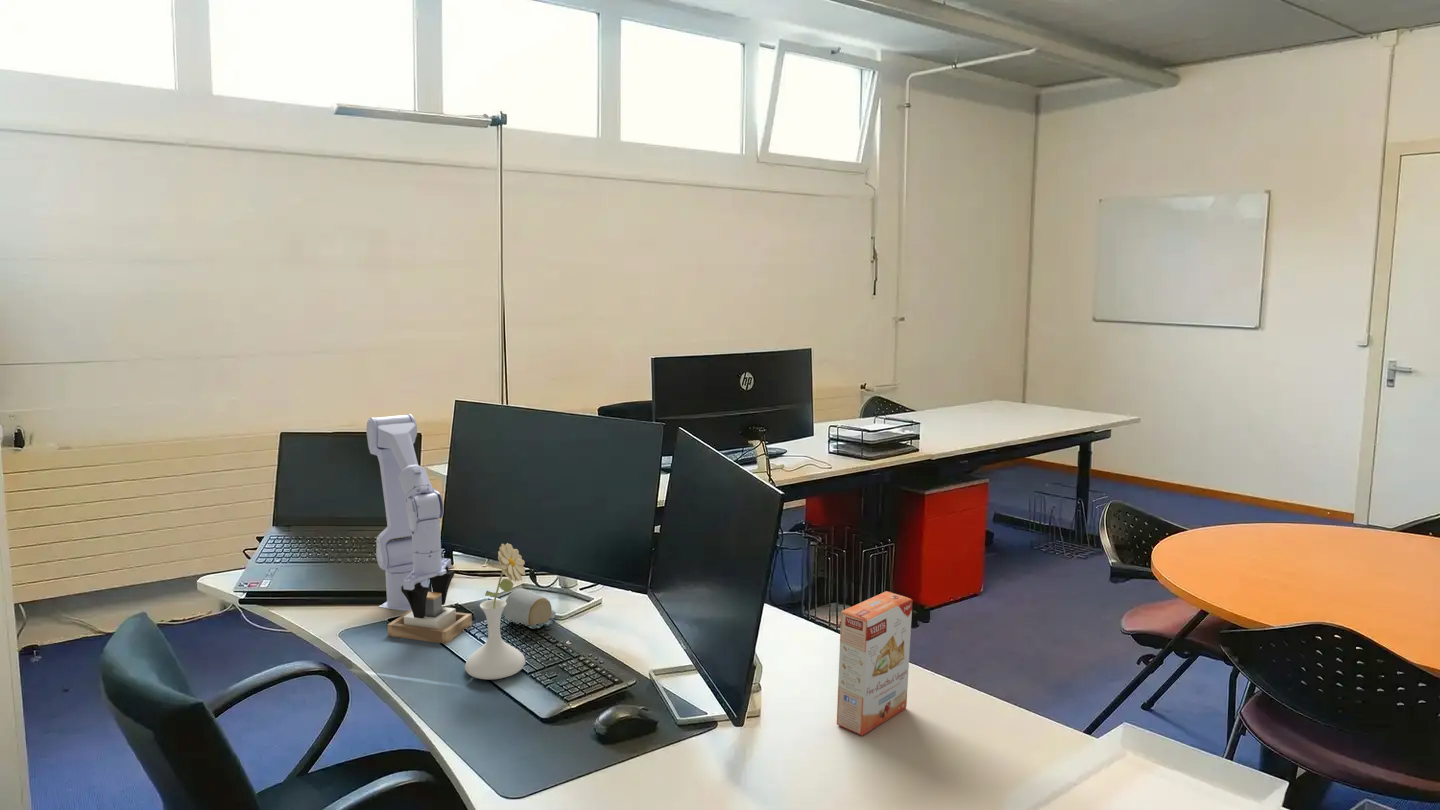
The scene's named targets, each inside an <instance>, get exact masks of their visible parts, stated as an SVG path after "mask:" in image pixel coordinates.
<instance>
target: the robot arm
mask: <svg viewBox="0 0 1440 810" xmlns="http://www.w3.org/2000/svg"><path fill="white" fill-rule="evenodd" d="M365 430H366V438H367V439H366V440H367V447H368V450H369V454H370V455H374V456H377V459H378V463H379V469H380V477H381V485H382V493H383V500H384V509H385V517H386V523H387V524H386V525H387V526H386V527H385V528H384V529H383V530H382V531H381V532H380V533H379V534H378V535H377V537H376V541H375V543H376V549H375V552H376V553H375V554H376V561H377V564H378V567H379V569H381V570H383V571H384V572H385V587H386V588H385V589H386V591H385V592H386V601H385V602H384V603H382V604H381V605H379V606H378V608H381V609H388V610H397V611H403V612H405V611H406V612H408V611H410V610H412V612H413V615H414V618H424V617H425V607H426V598H427V594H428V592H430V587H429V582H430V585H431V589H432V592H436V593H441V597H442V606H444V605H445V604H446V601H447V596H448V591H449V587H450V584H451V582H452V579H453V578H454V575H455V571H454V570H453V569H452V570H451V568H452V559H451V558H445V557H442V542H441V541H442V540H441V522H440V519H442V518H443V517H444V510H445V509H444V501H443V497H442V494H441V493H440V492H439V491H438V490H437V488H436V487H433V485H432V483H431V481H430V478H429V475H428V473H427V470H426V468H425V467H424V466H421V465H419V462H418V458H417V454H416V451H415V447H414V444H415V442H416V438H417V436H418V424H417V420H416V418H415V417H414V415H412V413H408V414H402V415H400V414H398V415H390V416H381V417H380V416H379V417H372V416H371V417H369V418H368V420H367V422H366V429H365ZM407 537H408V538H407ZM401 538H403V539H401ZM393 539H396V540H393ZM391 540H392V541H391Z"/></svg>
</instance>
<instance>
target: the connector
mask: <svg viewBox="0 0 1440 810" xmlns="http://www.w3.org/2000/svg"><path fill="white" fill-rule="evenodd" d="M442 607H443V605H442V597H441V593H436V592H433V591H428V594H427V598H426V607H425V617H432V618H436V617H437V616H439V615H440V614H442Z"/></svg>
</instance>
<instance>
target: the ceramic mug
mask: <svg viewBox="0 0 1440 810" xmlns="http://www.w3.org/2000/svg"><path fill="white" fill-rule="evenodd" d="M505 601H506V603H507V604H506V606H505V607H504V609H503V614H504V618H505V619H506V620H507V619H509V620H512V621H515V622H518V623H521V624H525V625H536V624H538V623H548V622H549V620H554V619H555V617H556V614H557V613H556V610H552V608H553V607H552V605H551V602H550V600H548V599H547V598H546V597H544V596H543V595H540V594H538V593H535V592H533V591H530V590H529V589H526V588H523V587H520V588H515V589H514V590H513V591H511V592H510V593H509V595H507V597H506V600H505Z"/></svg>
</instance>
